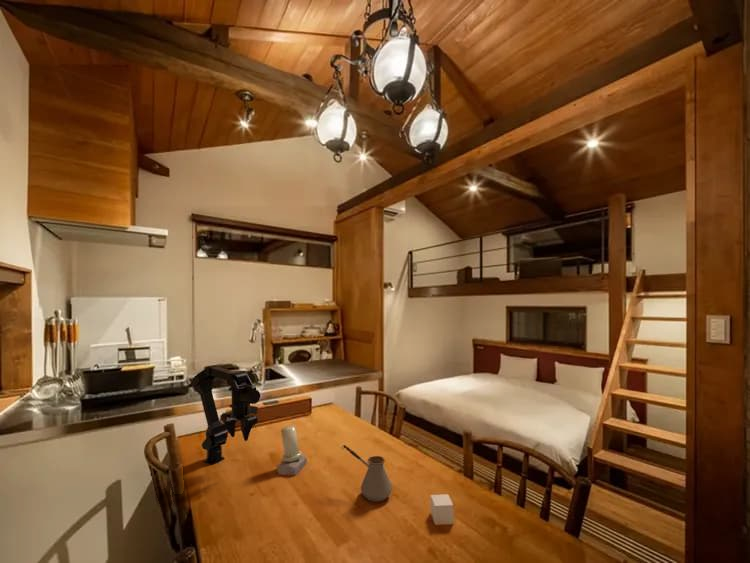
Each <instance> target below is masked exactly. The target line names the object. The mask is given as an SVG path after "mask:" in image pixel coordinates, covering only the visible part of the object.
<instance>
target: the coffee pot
mask: <svg viewBox="0 0 750 563" xmlns="http://www.w3.org/2000/svg"><path fill="white" fill-rule="evenodd" d="M345 449H346V451H348V452H349V453H350V454H351V455H352V456H353V457H354V458H356V459H358V460H359V461H360V462H362V463H363V465H365V466H366V467H367V471H366V473H365V474H364V475H365V476H364V478H363V480H362V483H361V486H360V491H361V494H362V495H363V496H364V497H365V498H366V499H367V500H368V501H369V502H373V503H378V502H379V503H380V502H383V501H385V500H386V499H387V498H388V497H389V496H390V495H391V493H392V490H393V486H392V483H391V481H390V477H389V475H388V474H387V471H386V469H385V466H384V463H385V461H386V459H385V458H384V457H383V456H382V455H373V456H372V455H371V456H370V457H368V458H367V462H366V461H365V460H364V459H362V457H361V456H360V455H358V453H356V452H355V451H354V450H352V449H350V447H349V446H348V447H347V445H345V444H343V446H342V447H341V451H343V450H345Z"/></svg>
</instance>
